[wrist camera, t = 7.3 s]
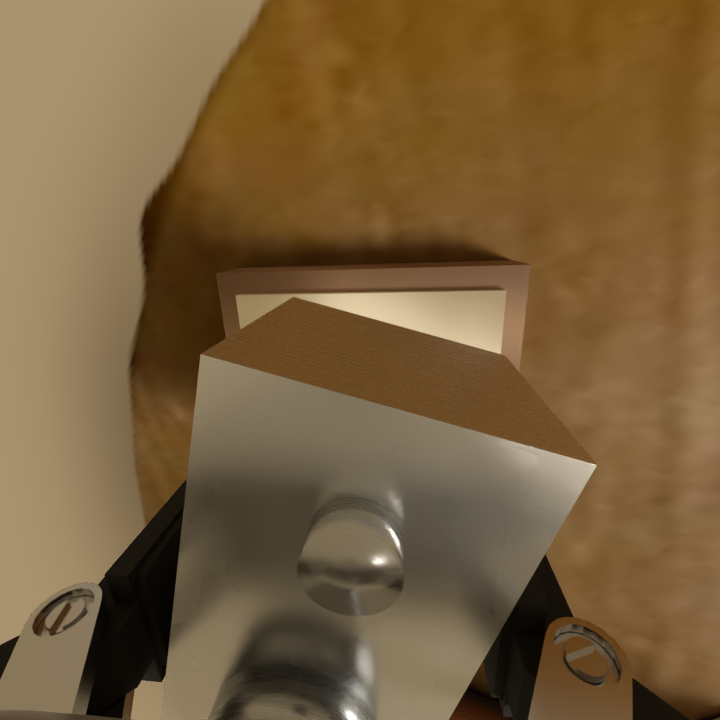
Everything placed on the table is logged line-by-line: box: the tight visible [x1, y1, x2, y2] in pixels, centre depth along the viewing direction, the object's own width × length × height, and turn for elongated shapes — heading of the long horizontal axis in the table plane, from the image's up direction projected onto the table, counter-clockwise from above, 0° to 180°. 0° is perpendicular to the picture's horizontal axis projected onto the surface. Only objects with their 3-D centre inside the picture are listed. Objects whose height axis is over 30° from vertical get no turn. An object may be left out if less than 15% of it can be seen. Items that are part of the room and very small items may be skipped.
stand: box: [216, 260, 531, 371], centre depth 20 cm, size 13×14×3 cm
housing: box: [161, 297, 597, 720], centre depth 9 cm, size 6×11×6 cm, turn 166°
